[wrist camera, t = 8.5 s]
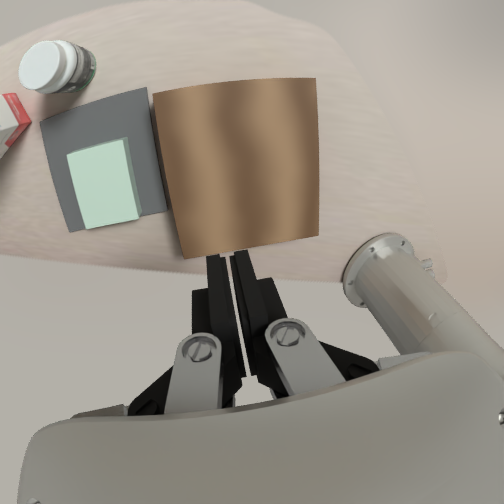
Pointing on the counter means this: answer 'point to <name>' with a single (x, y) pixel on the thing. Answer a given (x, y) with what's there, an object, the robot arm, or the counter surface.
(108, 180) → the mint green block
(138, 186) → the mat
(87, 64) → the pill bottle
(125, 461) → the robot arm
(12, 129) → the ink cartridge box
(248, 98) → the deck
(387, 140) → the counter surface
